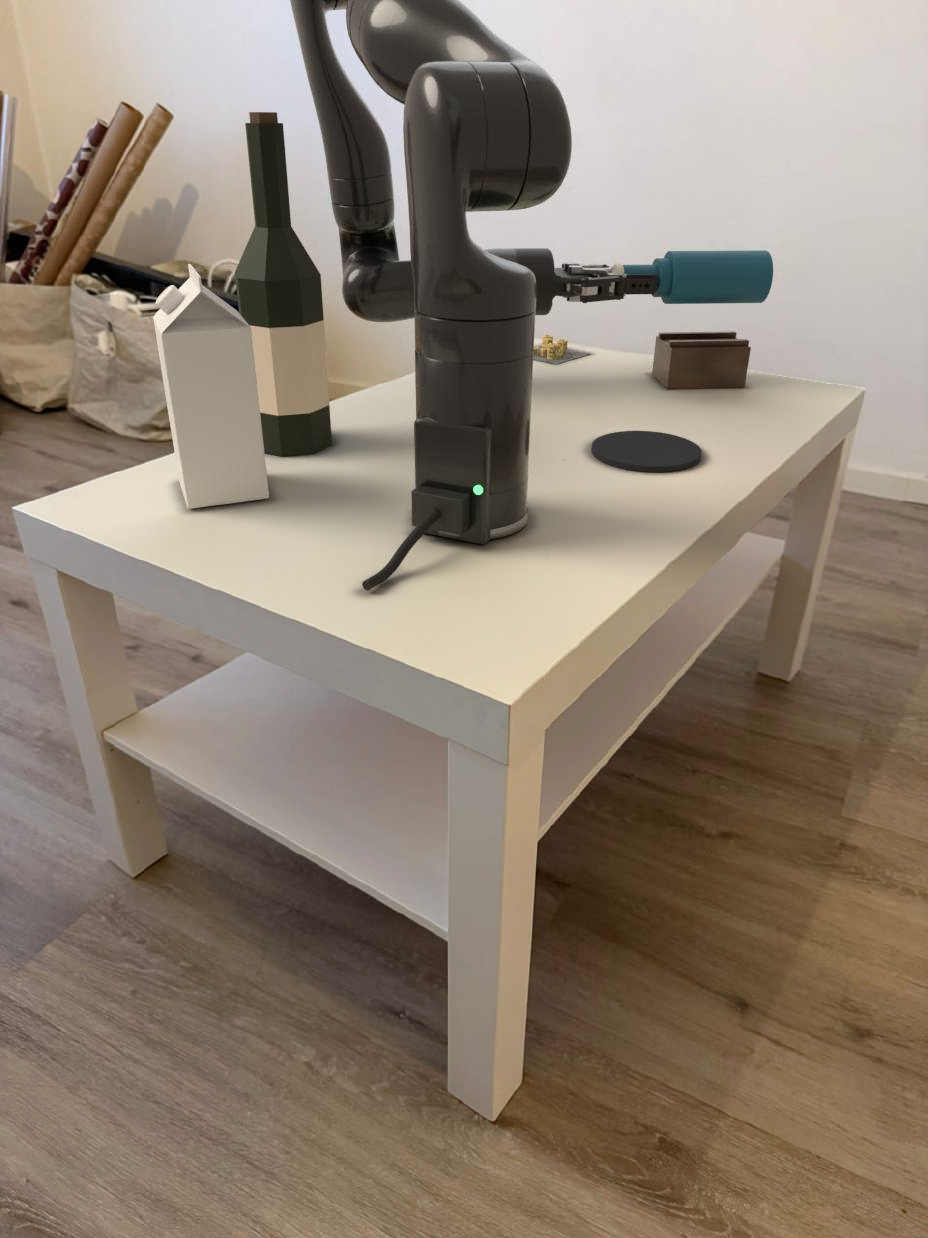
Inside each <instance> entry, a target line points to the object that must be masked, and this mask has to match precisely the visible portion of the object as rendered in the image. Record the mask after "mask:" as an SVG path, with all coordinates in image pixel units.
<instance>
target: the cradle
mask: <svg viewBox="0 0 928 1238" xmlns="http://www.w3.org/2000/svg"><path fill="white" fill-rule="evenodd" d="M737 335H738V334H737V332H736V331H733V330H732V331H673V332H671V331H668V332H667V331H664V332H663V331H662V332H660V331H659V332H658V335H656V336H655V342H654V352H653V361H652V372H651V375H652V376H653V377H654V378H655V379H656V380H657V381H658V382H659V383H660V384H661V385H662V386H664V388H666V389H667V390H687V389H688V390H689V389H693V390H694V389H736V388H737V389H741V388H742V389H743V388H745V387H746V380H747V376H748V370H749V369H748V368H749V362H750V356H751V351H752V347H751V346H750V345H749V344H750V340H749V339H747V338H743V339H742V338H741V339H739V338H738V337H737Z"/></svg>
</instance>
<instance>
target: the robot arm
mask: <svg viewBox="0 0 928 1238" xmlns="http://www.w3.org/2000/svg"><path fill="white" fill-rule="evenodd" d="M289 2H290V8H291V12H292V16H293V20H294V24H295V30H296V33H297V38H298V42H299V47H300V51H301V55H302V60H303V65H304V68H305V72H306V77H307V80H308V83H309V88H310V92H311V97H312V100H313V104H314V109H315V112H316V116H317V120H318V125H319V130H320V134H321V135H320V136H321V139H322V146H323V151H324V157H325V164H326V171H327V178H328V187H329V194H330V201H331V208H332V214H333V216H334V220H335V223H336V225H337V227H338V237H339V245H340V246H339V248H340V256H341V268H342V282H341V283H342V284H341V292H342V298H343V302H344V304H345V306H346V308H347V309H348V310H349V311H350V312H351V313H352V314H353V315H354V316H356V317H357V318H359V319H361V320H363V321H367V322H371V323H394V322H400V321H401V322H402V321H406V320H412V319H414V322H413V323H414V377H415V378H414V379H415V381H414V383H415V420H414V422H413V434H414V435H413V437H414V439H413V441H414V442H413V443H414V445H413V446H414V487H415V488H414V489H412V490H411V492H410V493H411V494H410V496H411V526H412V527H414V529H413V530H412V531H411V532H410V533H409V534H408V535H407V537H406V538H405V539H404V540H403V541H402V543H401V544H400V545H399V547H398V548H397V550H396V551H395V553H394V554H393V556H392V557H391V558H390V560H389V561H388V562H387V563H386V564H385V566H383V568H381V570H380V571H378V572H376V573H375V574H374V575H371V576H370V577H369V578H366V579H365V580H363V581H362V583H361V585H362V588H363V589H364V590H365V591H368V592H369V591H371V590H372V589H373V588H375V587H377V586H378V585H380V584H382V583H383V582H385V581H386V580H388V579H389V578H390V577H391V576H392V575H393V574H394V573H395V572H396V571H397V570H398V568H399V567H400V565H401V564H402V563H403V561H404V559H406V557H407V556H408V554H409V552H410V551H411V549H412V548H413V547H414V546H415V545H416V544H417V542H419V540H420V539H421V538H422V537H423V536H424V535H425V534H427V535H433V536H437V537H442V538H443V537H444V538H448V539H452V540H457V541H463V542H468V543H472V544H478V545H485V544H487V542H489V541H490V540H494V539H498V538H503V537H506V536H507V537H508V536H509V535H512V534H515V533H517V532H518V531H520V530H522V529H523V528H524V527H525V526H526V524H527V523H528V519H529V518H528V517H529V508H528V492H529V491H528V490H529V466H530V465H529V464H530V460H529V459H530V440H531V417H532V397H533V396H532V395H533V374H534V373H533V372H534V371H533V370H534V359H533V351H534V347H535V333H536V331H535V329H536V328H535V327H536V316H546V315H548V314H550V312H551V310H552V308H553V300H554V299H555V298H556V297H562V298H564V299H566V302H569V303H582V304H587V303H594V302H606V301H615V300H616V301H621V300H624V299H625V297H626V295H651V294H655V293H656V291H657V283H658V277H657V275H655V274H624V273H622V272H621V273H612V268H613V266H610V265H608V264H603V263H602V264H597V263H577V262H575V261H573V262H572V261H571V262H564V263H561V267H555V259H554V254H553V253H552V251H551V249H549V248H544V247H543V248H540V247H539V248H538V247H537V248H534V247H532V248H530V247H529V248H526V247H525V248H517V247H516V248H487V249H483V248H482V247H481V246H480V245H478V244H477V243H476V242H475V241H474V240H473V239H472V237H471V236H470V233H469V227H468V226H469V225H468V220H467V213H473V212H501V211H502V212H505V211H507V212H508V211H518V210H525V209H529V208H532V207H536V206H538V205H541V204H544V203H545V202H546V201H548V200H549V199H550V198H552V197H553V196H554V195H555V193H557V192H558V191H559V189H560V187H561V186H562V184H563V183H564V180H565V178H566V177H567V174H568V172H569V168H570V164H571V160H572V151H573V138H572V137H573V134H572V126H571V120H570V116H569V112H568V108H567V104H566V102H565V100H564V99H565V98H564V97H563V95H562V91H561V90H560V89H559V87H558V85H557V82H556V81H555V79H554V78H553V77H552V75H551V74H550V73H549V72H548V71H547V69H545V68H544V67H543V66H542V65H541V64H539V63H538V62H536V61H535V60H534V59H532V58H530V57H529V56H527V55H526V54H524V53H523V52H521V51H520V50H519V49H517V48H515V47H514V46H513V45H511V44H509V43H508V42H507V41H505V40H503V39H502V38H500V36H498V35H497V34H496V33H495V32H494V31H493V30H491V28H490V27H489V26H488V25H487V24H486V23H485V22H484V21H483V20H482V19H481V18H480V17H479V16H478V15H477V14H476V13H475V12H474V11H473V10H472V9H471V8H470V7H469V6H468V5H467V4H466V3H465V2H463V1H462V0H289ZM341 10H342V11H343V10H345V24H346V29H347V36H348V38H349V41H350V44H351V47H352V48H353V51H354V52H355V54H356V56H357V58H358V60H359V61H360V62H361V64H362V66H363V67H364V68H365V70H366V71H367V73H368V75H369V76H370V77H371V78H372V81H374V83H375V84H376V85H377V86H378V87H379V88H380V89H381V90H382V91H383V92H384V93H385V94H386V95H387V96H389V97H391V98H392V99H393V100H395V101H396V102H398V103H400V104H402V105H403V124H402V125H403V129H402V130H403V131H402V132H403V153H404V164H405V165H404V166H405V180H406V191H407V206H408V207H407V208H408V222H409V223H408V225H409V247H410V248H409V250H410V252H409V253H410V259H407V260H405V259H404V260H400V254H399V253H400V252H399V246H398V240H397V233H396V227H395V211H396V209H395V191H394V181H393V171H392V162H391V155H390V149H389V145H388V141H387V139H386V136H385V133H384V131H383V128H382V126H381V125H380V123H379V121H378V119H377V117H376V116H375V115H374V113H373V111H372V110H371V108H370V106H369V104H367V102H366V101H365V100H364V98H363V97H362V95H361V93H360V92H359V90H358V89H357V87H356V86H355V84H354V82H352V79H350V77H349V75H348V73H347V71H346V69H345V68H344V66H343V65H342V63H341V61H340V59H339V57H338V54H337V52H336V49H335V46H334V44H333V41H332V38H331V34H330V30H329V25H328V21H327V13H328V12H329V11H341ZM612 282H615V285H614V291H612V288H611V283H612Z"/></svg>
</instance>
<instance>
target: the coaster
mask: <svg viewBox="0 0 928 1238" xmlns="http://www.w3.org/2000/svg"><path fill="white" fill-rule="evenodd" d="M590 451H591V454H592V456H593V457H595V458H596V459H597V460H598V461H600V462H602V463H604V464H606V465H609V466H612V467H615V468H618V469H623V470H629V471H634V472H642V473H643V472H644V473H666V472H667V473H669V472H677V471H683V470H686V469H690V468H692V467H694V466H696V465H697V464H699V463H700V461H701V459H702V456H703V455H702V454H703V451H702V448H701V447H700V446H699V445H698V444H696V443H695V442H693V441H691V440H690V439H687V438H686V437H683V436H679V435H675V434H671V433H666V432H662V431H661V432H659V431H650V430H623V431H622V430H621V431H614V432H610V433H606V434H603V435H600V436H598V437H597V438H595V439H594V440H593V441H592V443H591V450H590Z"/></svg>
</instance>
